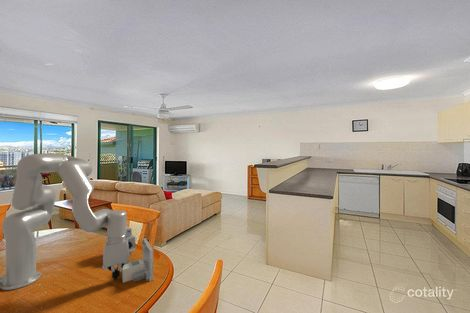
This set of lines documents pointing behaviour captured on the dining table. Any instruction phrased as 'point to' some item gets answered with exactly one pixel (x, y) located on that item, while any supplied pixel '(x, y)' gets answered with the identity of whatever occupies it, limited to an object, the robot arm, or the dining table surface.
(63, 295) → the dining table surface
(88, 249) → the dining table surface
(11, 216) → the robot arm
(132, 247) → the circuit breaker
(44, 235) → the dining table surface
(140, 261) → the block
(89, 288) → the dining table surface
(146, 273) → the bracket
